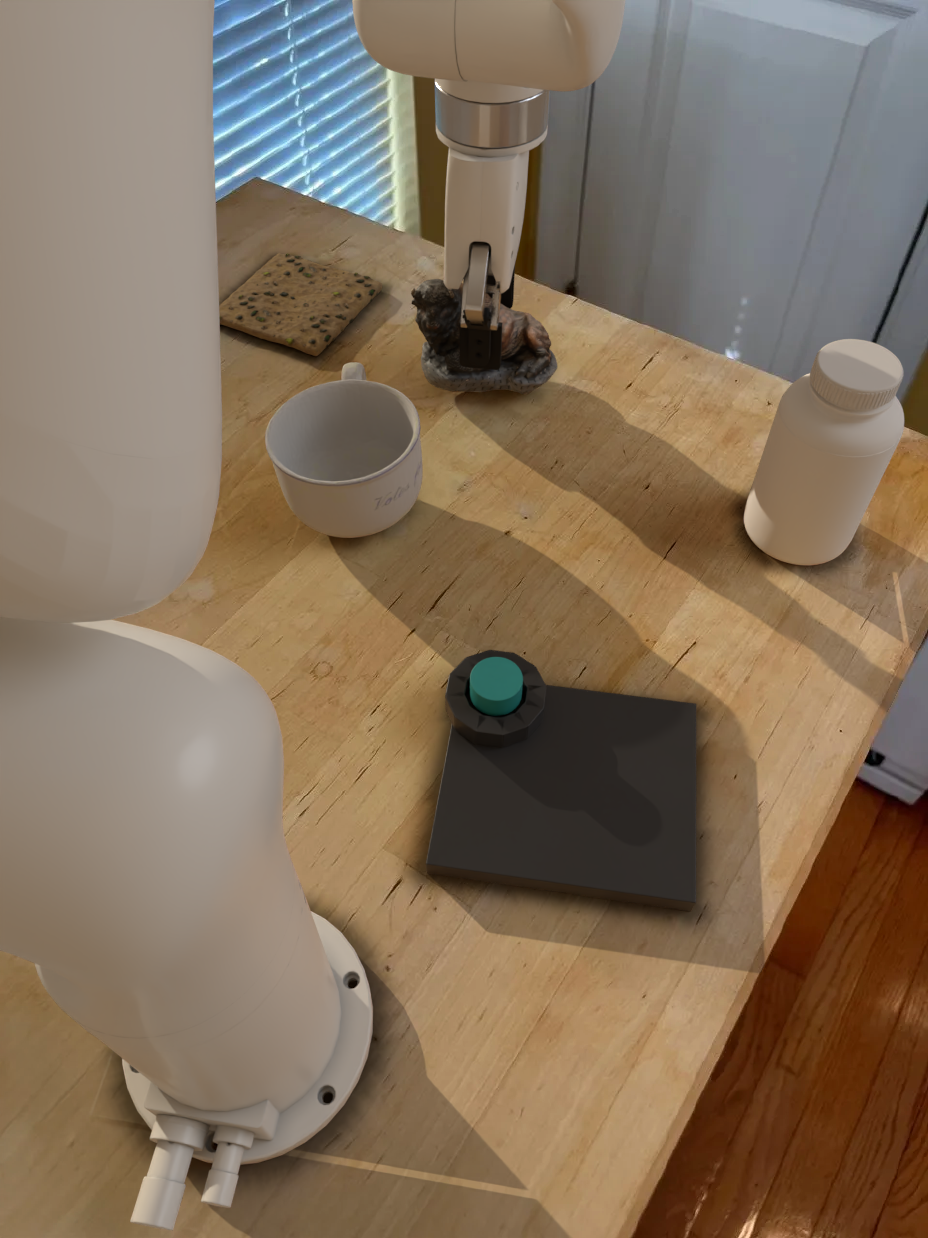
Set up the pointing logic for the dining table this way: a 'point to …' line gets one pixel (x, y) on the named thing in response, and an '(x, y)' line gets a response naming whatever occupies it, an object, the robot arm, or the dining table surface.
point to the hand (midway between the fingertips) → (487, 333)
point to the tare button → (496, 686)
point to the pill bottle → (826, 453)
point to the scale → (569, 792)
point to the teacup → (347, 455)
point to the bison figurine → (439, 322)
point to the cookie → (298, 303)
